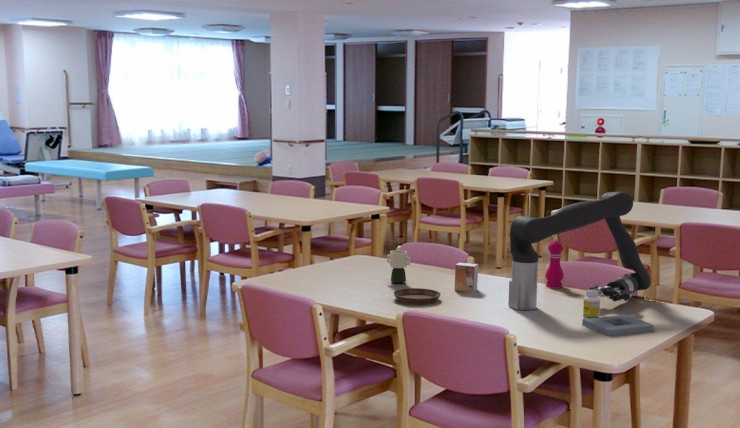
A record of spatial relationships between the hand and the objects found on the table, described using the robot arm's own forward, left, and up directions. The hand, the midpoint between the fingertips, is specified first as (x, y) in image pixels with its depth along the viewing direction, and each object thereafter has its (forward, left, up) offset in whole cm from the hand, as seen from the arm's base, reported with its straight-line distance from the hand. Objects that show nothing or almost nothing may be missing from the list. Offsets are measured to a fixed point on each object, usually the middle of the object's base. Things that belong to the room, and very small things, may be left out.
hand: (602, 296), depth 290 cm
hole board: (-7, -18, -6) cm, 20 cm away
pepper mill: (+8, +41, -6) cm, 43 cm away
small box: (-29, +47, -6) cm, 56 cm away
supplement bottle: (-8, -5, -6) cm, 11 cm away
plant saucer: (-54, +39, -7) cm, 67 cm away
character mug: (-49, +68, -6) cm, 84 cm away
